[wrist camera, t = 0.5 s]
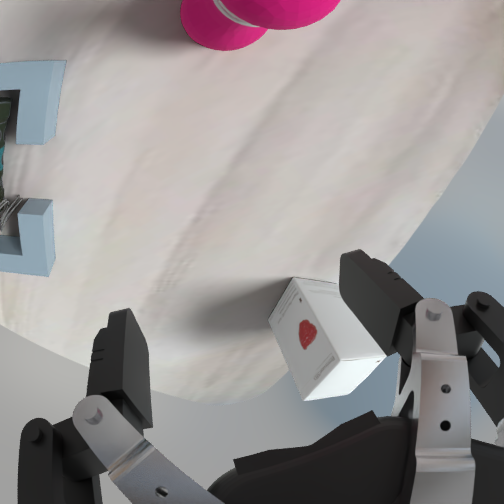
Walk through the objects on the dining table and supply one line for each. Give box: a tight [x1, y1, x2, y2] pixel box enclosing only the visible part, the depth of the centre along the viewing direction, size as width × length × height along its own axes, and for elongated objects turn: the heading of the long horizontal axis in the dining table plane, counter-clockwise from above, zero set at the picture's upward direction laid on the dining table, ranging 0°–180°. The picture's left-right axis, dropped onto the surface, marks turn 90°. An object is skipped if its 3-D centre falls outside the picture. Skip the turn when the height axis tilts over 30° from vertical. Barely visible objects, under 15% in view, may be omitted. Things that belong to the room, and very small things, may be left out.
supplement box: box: [268, 277, 386, 401], centre depth 40 cm, size 9×9×15 cm
